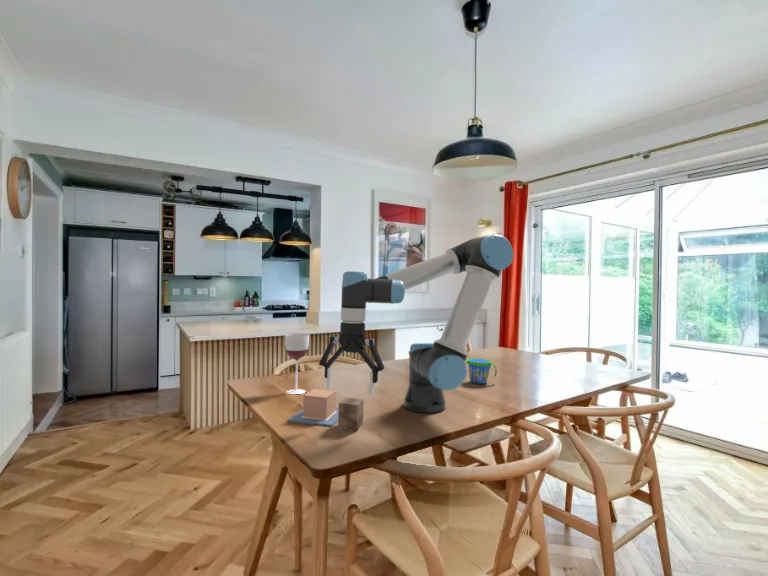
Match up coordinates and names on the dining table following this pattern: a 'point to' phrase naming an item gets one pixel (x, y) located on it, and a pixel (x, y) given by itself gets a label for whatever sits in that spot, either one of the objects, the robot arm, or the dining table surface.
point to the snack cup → (479, 370)
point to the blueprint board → (315, 419)
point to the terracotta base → (319, 404)
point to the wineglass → (296, 353)
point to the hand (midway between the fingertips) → (350, 391)
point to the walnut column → (350, 414)
